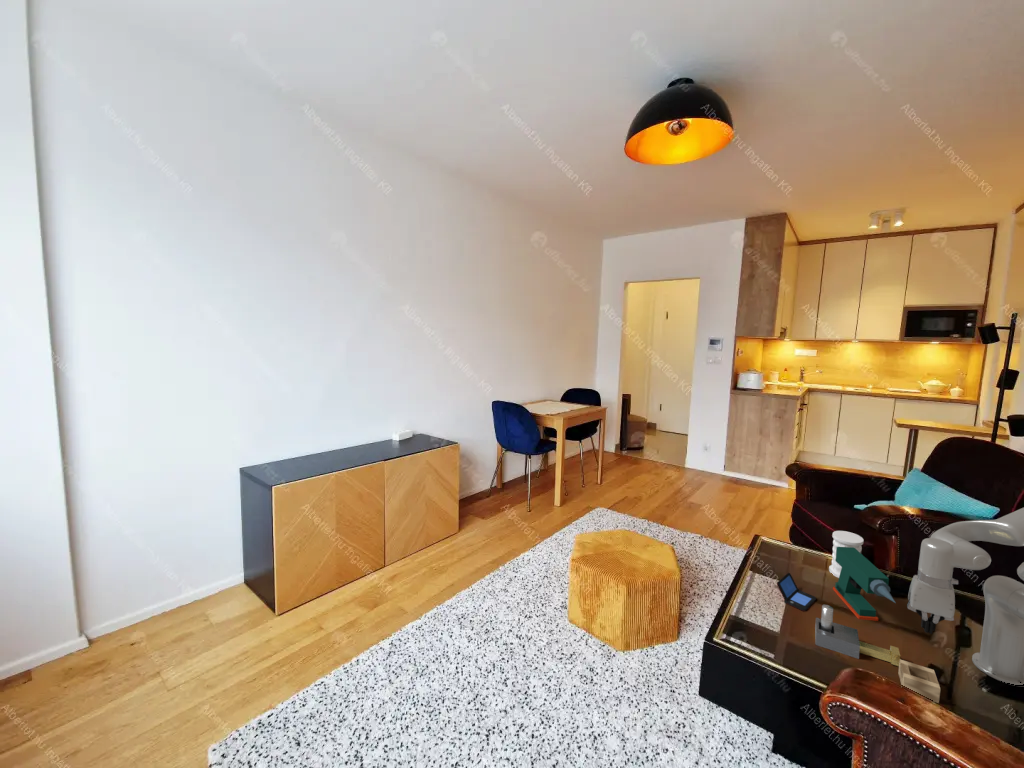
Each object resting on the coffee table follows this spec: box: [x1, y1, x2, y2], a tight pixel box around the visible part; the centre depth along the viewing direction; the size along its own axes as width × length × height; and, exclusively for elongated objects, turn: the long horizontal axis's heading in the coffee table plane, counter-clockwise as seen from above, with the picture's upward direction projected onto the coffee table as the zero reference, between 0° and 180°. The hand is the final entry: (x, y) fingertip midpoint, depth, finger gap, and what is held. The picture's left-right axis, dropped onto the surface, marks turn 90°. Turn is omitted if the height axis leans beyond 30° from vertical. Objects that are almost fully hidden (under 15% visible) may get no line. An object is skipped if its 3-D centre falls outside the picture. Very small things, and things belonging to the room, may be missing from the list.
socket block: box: [814, 617, 860, 660], centre depth 150 cm, size 12×9×5 cm
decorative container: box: [828, 530, 864, 579], centre depth 188 cm, size 12×12×18 cm
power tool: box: [832, 547, 896, 622], centre depth 162 cm, size 32×7×20 cm, turn 168°
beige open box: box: [898, 658, 941, 704], centre depth 131 cm, size 8×8×5 cm
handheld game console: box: [776, 572, 817, 612], centre depth 174 cm, size 12×11×7 cm
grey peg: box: [820, 604, 834, 633], centre depth 151 cm, size 3×3×13 cm
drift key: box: [859, 640, 901, 667], centre depth 144 cm, size 12×4×4 cm, turn 55°
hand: (927, 630), depth 135 cm, fingers closed
